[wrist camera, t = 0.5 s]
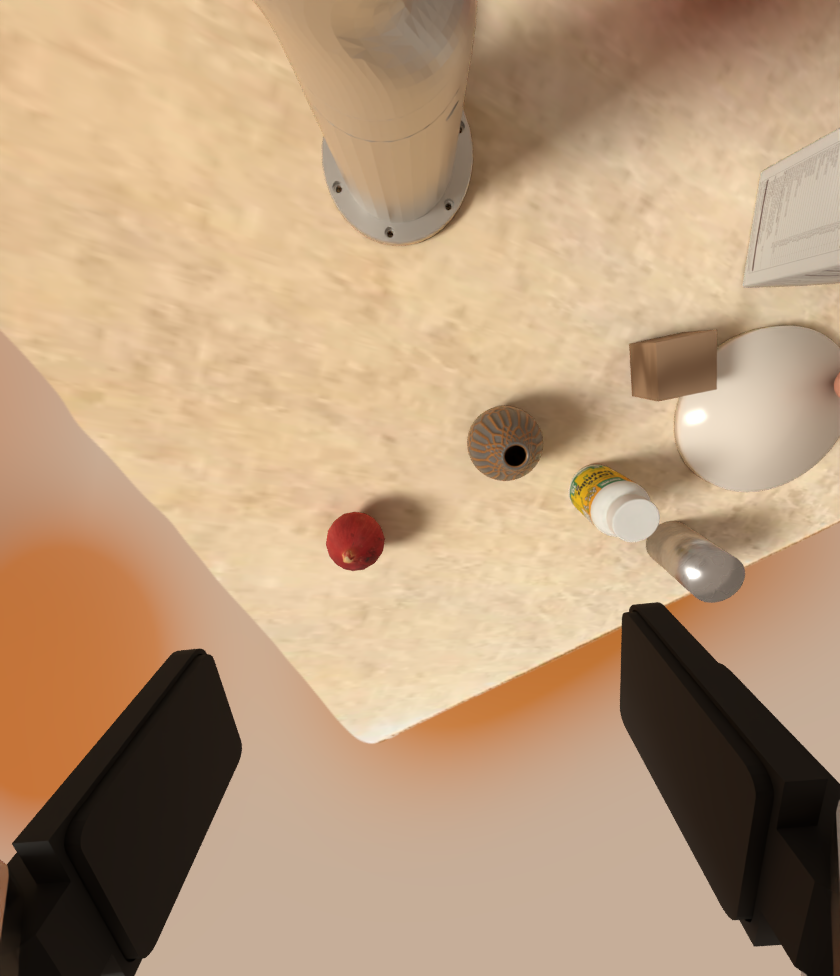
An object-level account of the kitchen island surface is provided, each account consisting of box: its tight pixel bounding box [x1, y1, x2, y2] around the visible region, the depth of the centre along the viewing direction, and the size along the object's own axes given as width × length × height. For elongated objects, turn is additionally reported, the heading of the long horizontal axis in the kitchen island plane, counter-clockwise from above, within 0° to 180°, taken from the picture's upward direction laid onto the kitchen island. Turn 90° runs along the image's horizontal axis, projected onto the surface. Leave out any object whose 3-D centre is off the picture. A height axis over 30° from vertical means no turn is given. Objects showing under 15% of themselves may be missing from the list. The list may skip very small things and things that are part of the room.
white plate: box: [674, 326, 840, 492], centre depth 41 cm, size 16×16×1 cm
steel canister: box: [646, 521, 745, 603], centre depth 43 cm, size 5×5×8 cm
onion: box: [326, 512, 385, 571], centre depth 42 cm, size 6×6×8 cm
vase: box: [467, 406, 543, 481], centre depth 39 cm, size 7×7×9 cm
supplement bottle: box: [569, 465, 660, 542], centre depth 40 cm, size 5×5×10 cm
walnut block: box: [629, 330, 717, 401], centre depth 38 cm, size 5×5×5 cm
